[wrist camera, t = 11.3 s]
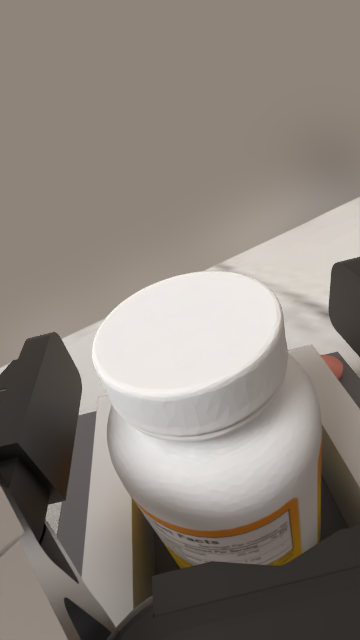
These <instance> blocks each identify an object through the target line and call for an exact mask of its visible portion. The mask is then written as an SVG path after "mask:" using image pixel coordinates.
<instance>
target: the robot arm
mask: <svg viewBox="0 0 360 640" xmlns="http://www.w3.org/2000/svg"><path fill="white" fill-rule="evenodd" d="M329 316H330V320H331V322H332V325H333V327H334V328H335V329H336V331H337V332H338V333H339V334H340V335H341V336H342V337H343V339H344V340H345V341H346V342H347V343H348V344H349V345H350V347H351V348H352V349H353V350H354V351H355V352H356V353H357V354H358V356H359V357H360V257H357V258H353V259H349V260H345V261H341V262H337V263H335V264H334V265H333V267H332V271H331V284H330V297H329ZM81 393H82V383H81V378H80V374H79V372H78V369H77V368H76V366H75V364H74V362H73V360H72V358H71V356H70V355H69V353H68V351H67V349H66V347H65V345H64V343H63V341H62V340H61V338H60V336H59V335H58V334H57V333H55V332H53V333H48V334H44V335H40V336H36V337H32V338H28V339H27V340H26V341H25V343H24V346H23V348H22V351H21V353H20V356H19V358H18V359H17V360H13V361H12V362H11V363H10V364H9V365H8V367H7V368H6V369H5V370H4V371H3V372H2V373H1V374H0V640H360V525H359V526H355V527H351V528H347V529H343V530H339V531H337V532H335V533H334V534H332V535H331V536H329V537H328V538H326V539H324V540H323V541H321V542H320V543H318V544H316V545H315V546H313V547H312V548H310V549H309V550H307V551H305V552H304V553H302V554H301V555H299V556H298V557H296V558H294V559H293V560H291V561H290V562H288V563H286V564H284V565H280V566H272V565H258V564H244V563H230V562H216V561H211V562H207V563H203V564H199V565H195V566H191V567H186V568H182V569H178V570H174V571H170V572H166V573H162V574H158V575H154V576H152V596H151V597H149V598H147V599H146V600H145V601H143V602H142V603H141V604H140V605H138V606H137V607H136V608H135V609H133V610H132V611H131V612H130V613H129V614H128V615H127V616H126V617H125V618H124V619H123V620H122V621H121V622H120V623H119V625H118V626H117V627H115V625H114V623H113V622H112V620H111V619H110V617H109V616H108V614H107V613H106V612H105V610H104V609H103V607H102V606H101V605H100V603H99V602H98V601H97V600H96V599H95V597H94V596H93V595H92V593H91V592H90V591H89V589H88V588H87V586H86V585H85V583H84V581H83V580H82V578H81V576H80V575H79V573H78V571H77V570H76V568H75V566H74V565H73V563H72V561H71V560H70V558H69V556H68V555H67V553H66V551H65V550H64V548H63V546H62V545H61V543H60V542H59V540H58V538H57V537H56V535H55V533H54V532H53V530H52V528H51V527H50V525H49V524H48V522H47V521H46V520H45V518H46V512H47V507H48V505H49V504H53V503H57V502H61V501H65V500H66V495H67V489H68V482H69V475H70V468H71V461H72V455H73V448H74V441H75V434H76V427H77V421H78V414H79V407H80V400H81Z"/></svg>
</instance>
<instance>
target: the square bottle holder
mask: <svg viewBox="0 0 360 640" xmlns="http://www.w3.org/2000/svg"><path fill="white" fill-rule="evenodd" d="M288 353H289V354H290V355H291V356H292V357H293V358H294V359H295V360H296V361H297V362H298V363H299V364H300V365H301V366H302V368H303V369H304V370H305V371H306V373H307V375H308V376H309V378H310V380H311V382H312V384H313V386H314V388H315V391H316V394H317V397H318V401H319V405H320V412H321V423H322V466H321V537H320V542H321V541H323V540H324V539H326V538H328V537H329V536H331V535H332V534H334V533H335V532H337V531H339V530H343V529H347V528H351V527H355V526H359V525H360V379H359V377H358V376H357V375H356V374H355V372H354V371H353V370H352V369H351V368H350V366H349V365H348V364H347V363H346V361H345V360H344V359H343V358H342V357H341V355H340V354H339V353H338V352H334V353H330V354H326V355H319V353H318V352H317V351H316V349H315V348H314V347H313V345H308V346H304V347H300V348H296V349H292V350H288ZM111 405H112V403H111V401H110V399H109V396H108V395H105V396H101V397H98V402H97V411H95V412H91V413H87V414H83V415H79V416H78V421H77V427H76V434H75V441H74V448H73V455H72V461H71V468H70V475H69V482H68V489H67V495H66V500H65V501H62V506H61V512H60V518H59V525H58V531H57V538H58V540H59V542H60V543H61V545H62V546H63V548H64V550H65V551H66V553H67V555H68V556H69V558H70V560H71V561H72V563H73V565H74V566H75V568H76V570H77V571H78V573H79V575H80V576H81V578H82V580H83V581H84V583H85V585H86V586H87V588H88V589H89V591H90V592H91V593H92V595H93V596H94V597H95V599H96V600H97V601H98V602H99V603H100V605H101V606H102V607H103V609H104V610H105V612H106V613H107V614H108V616H109V617H110V619H111V620H112V622H113V623H114V625H115V627H117V626H118V625H119V623H120V622H121V621H122V620H123V619H124V618H125V617H126V616H127V615H128V614H129V613H130V612H131V611H132V610H133V609H135V608H136V607H137V606H138V605H140V604H141V603H142V602H143V601H145V600H146V599H147V598H149V597H151V596H152V576H154V575H158V574H162V573H166V572H170V571H174V570H178V569H180V567H179V566H178V564H177V563H176V561H175V560H174V558H173V557H172V555H171V554H170V552H169V551H168V549H167V548H166V546H165V545H164V543H163V542H162V540H161V539H160V537H159V536H158V534H157V533H156V532H155V530H154V529H153V527H152V526H151V524H150V523H149V521H148V520H147V519H146V517H145V516H144V514H143V513H142V511H141V510H140V508H139V507H138V506H137V504H136V503H135V502H134V500H133V499H132V498H131V496H130V495H129V493H128V492H127V490H126V488H125V487H124V485H123V483H122V481H121V480H120V478H119V476H118V474H117V473H116V471H115V468H114V466H113V463H112V461H111V457H110V453H109V450H108V443H107V423H108V417H109V412H110V408H111Z"/></svg>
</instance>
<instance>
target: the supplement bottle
mask: <svg viewBox="0 0 360 640" xmlns="http://www.w3.org/2000/svg"><path fill="white" fill-rule="evenodd" d="M92 358H93V364H94V367H95V369H96V372H97V374H98V376H99V378H100V380H101V382H102V384H103V386H104V388H105V390H106V392H107V394H108V396H109V399H110V401H111V403H112V405H111V408H110V412H109V417H108V423H107V443H108V450H109V453H110V457H111V461H112V463H113V466H114V468H115V471H116V473H117V474H118V476H119V478H120V480H121V481H122V483H123V485H124V487H125V488H126V490H127V492H128V493H129V495H130V496H131V498H132V499H133V500H134V502H135V503H136V504H137V506H138V507H139V508H140V510H141V511H142V513H143V514H144V516H145V517H146V519H147V520H148V521H149V523H150V524H151V526H152V527H153V529H154V530H155V532H156V533H157V534H158V536H159V537H160V539H161V540H162V542H163V543H164V545H165V546H166V548H167V549H168V551H169V552H170V554H171V555H172V557H173V558H174V560H175V561H176V563H177V564H178V566H179V567H180V569H182V568H186V567H191V566H195V565H199V564H203V563H207V562H211V561H216V562H230V563H244V564H258V565H272V566H280V565H284V564H286V563H288V562H290V561H291V560H293V559H294V558H296V557H298V556H299V555H301V554H302V553H304V552H305V551H307V550H309V549H310V548H312V547H313V546H315V545H316V544H318V543H320V537H321V466H322V423H321V412H320V405H319V401H318V397H317V394H316V391H315V388H314V386H313V384H312V382H311V380H310V378H309V376H308V375H307V373H306V371H305V370H304V369H303V368H302V366H301V365H300V364H299V363H298V362H297V361H296V360H295V359H294V358H293V357H292V356H291V355H290V354H289V353H288V350H287V343H286V338H285V328H284V319H283V312H282V308H281V305H280V303H279V301H278V298H277V297H276V296H275V294H274V293H273V292H272V291H271V290H270V289H269V288H268V287H267V286H265V285H264V284H263V283H261V282H260V281H258V280H256V279H254V278H251V277H248V276H246V275H242V274H238V273H233V272H224V271H205V272H195V273H188V274H184V275H179V276H174V277H171V278H168V279H165V280H163V281H160V282H157V283H155V284H153V285H150V286H148V287H146V288H144V289H142V290H140V291H138V292H137V293H135V294H133V295H132V296H130V297H129V298H127V299H126V300H125V301H123V302H122V303H121V304H119V305H118V306H117V307H116V308H115V309H114V310H113V311H112V312H111V313H110V314H109V315H108V316H107V317H106V319H105V320H104V321H103V323H102V324H101V326H100V327H99V329H98V331H97V333H96V336H95V338H94V342H93V347H92Z"/></svg>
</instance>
